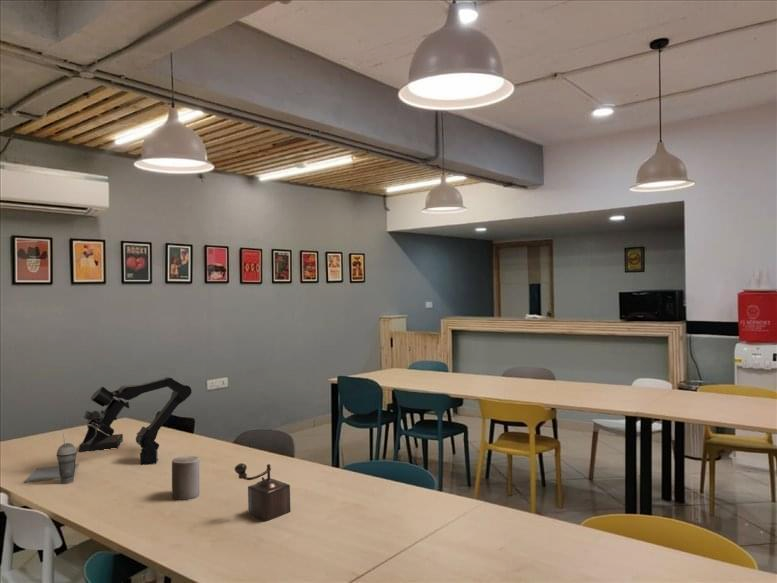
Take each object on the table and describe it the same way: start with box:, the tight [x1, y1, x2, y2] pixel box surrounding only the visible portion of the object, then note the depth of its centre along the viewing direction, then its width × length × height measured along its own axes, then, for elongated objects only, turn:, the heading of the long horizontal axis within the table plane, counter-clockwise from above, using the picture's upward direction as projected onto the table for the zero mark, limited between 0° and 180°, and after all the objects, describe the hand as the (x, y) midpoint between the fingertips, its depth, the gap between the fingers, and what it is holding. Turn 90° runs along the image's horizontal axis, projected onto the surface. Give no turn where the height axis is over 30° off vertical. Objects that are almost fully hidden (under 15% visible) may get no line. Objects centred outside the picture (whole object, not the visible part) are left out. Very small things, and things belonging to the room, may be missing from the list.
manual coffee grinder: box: [234, 463, 291, 522], centre depth 181 cm, size 16×11×18 cm
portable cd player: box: [77, 433, 124, 453], centre depth 273 cm, size 16×17×4 cm
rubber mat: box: [24, 463, 79, 483], centre depth 231 cm, size 16×18×1 cm
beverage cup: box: [56, 432, 78, 485], centre depth 219 cm, size 7×7×20 cm
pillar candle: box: [171, 455, 201, 501], centre depth 200 cm, size 10×10×15 cm
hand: (86, 445), depth 226 cm, fingers open, 9 cm apart
